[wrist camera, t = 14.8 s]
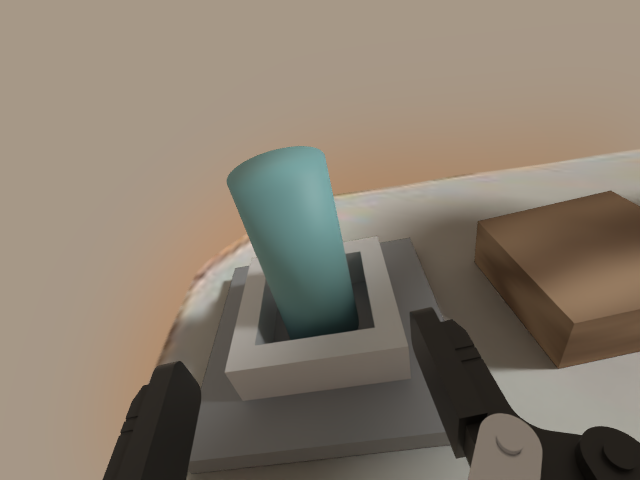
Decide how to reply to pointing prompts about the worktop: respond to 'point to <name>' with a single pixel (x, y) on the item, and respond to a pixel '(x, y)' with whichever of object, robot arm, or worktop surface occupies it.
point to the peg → (297, 239)
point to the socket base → (319, 372)
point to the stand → (569, 274)
